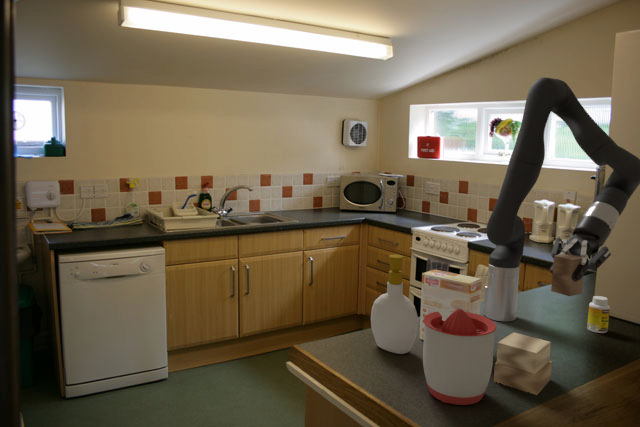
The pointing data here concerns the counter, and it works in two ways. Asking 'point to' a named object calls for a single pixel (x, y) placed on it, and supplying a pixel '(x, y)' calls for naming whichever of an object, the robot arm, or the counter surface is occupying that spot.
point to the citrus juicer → (458, 356)
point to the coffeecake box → (448, 294)
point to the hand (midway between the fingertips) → (563, 276)
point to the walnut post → (566, 275)
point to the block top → (523, 352)
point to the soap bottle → (394, 314)
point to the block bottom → (523, 378)
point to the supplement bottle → (598, 315)
